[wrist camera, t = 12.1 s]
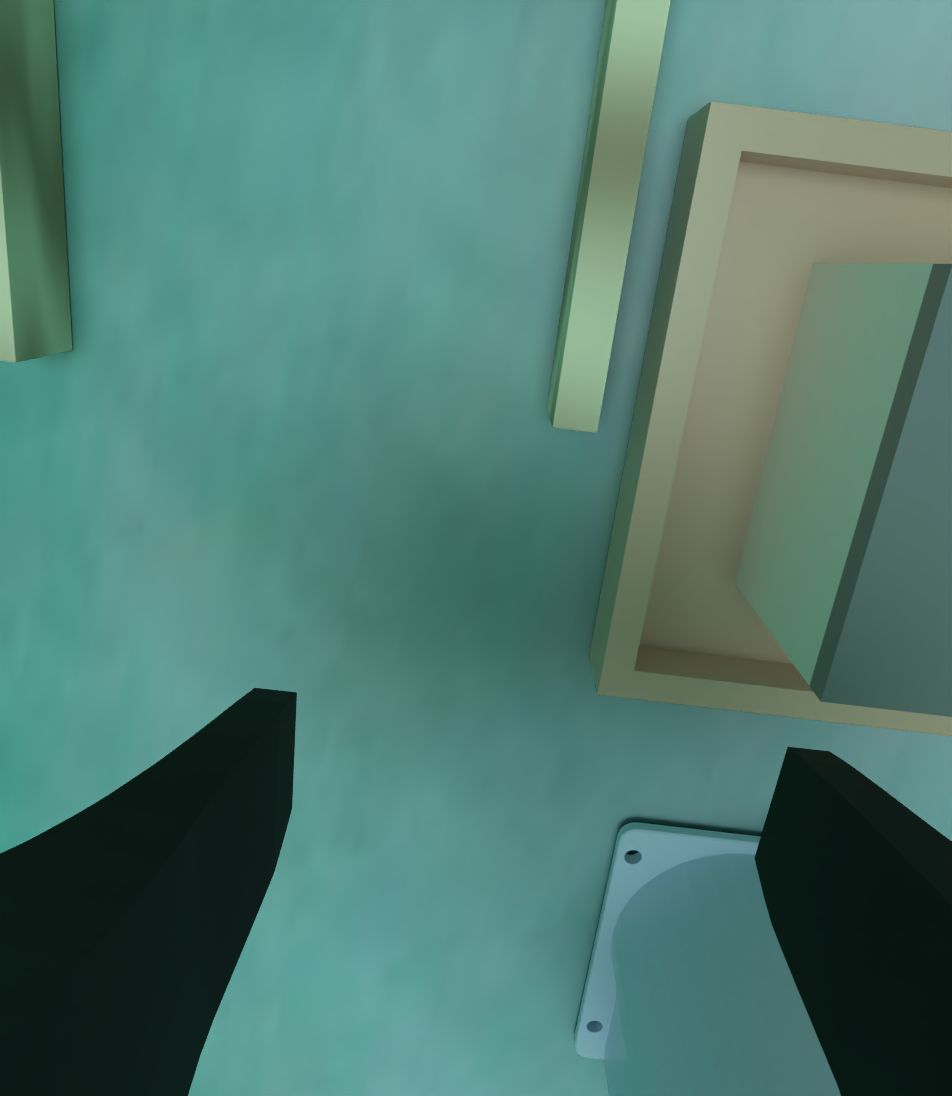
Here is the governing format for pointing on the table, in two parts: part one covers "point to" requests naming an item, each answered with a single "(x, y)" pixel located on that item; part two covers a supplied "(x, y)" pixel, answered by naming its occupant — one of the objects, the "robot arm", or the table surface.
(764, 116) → the tray
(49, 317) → the bay
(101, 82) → the table surface
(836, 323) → the grey-green upright block
